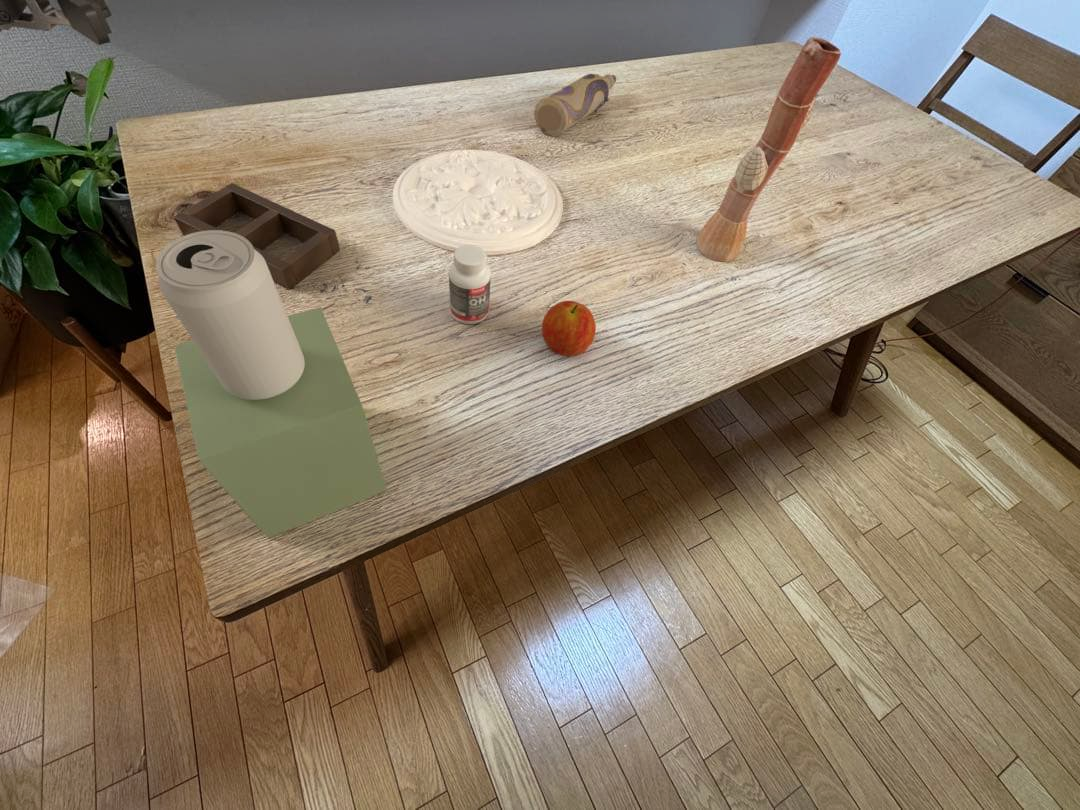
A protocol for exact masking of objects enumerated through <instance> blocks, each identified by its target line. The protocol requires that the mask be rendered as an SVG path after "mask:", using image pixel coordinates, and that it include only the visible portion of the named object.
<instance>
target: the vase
mask: <svg viewBox="0 0 1080 810" xmlns="http://www.w3.org/2000/svg"><path fill="white" fill-rule="evenodd" d="M841 55H842V52H841V50H840V49H839V47H837V46H836V45H834V44H833V43H831V42H830V41H828V40H826V39H824V38H822V37H816V36H814V37H809V38H808V40H806V41H805V43H804V45H803V46H802V48H801V50H800V52H799V54H798V56H797V58H796V59H795V61H794V63H793V64H792V66H791V68H790V70H789V72H788V73H787V76H786V77H785V78H784V80H783V83H782V85H781V86H780V89H779V90H778V93H777V96H776V98H775V100H774V103H773V105H772V109H771V111H770V114H769V117H768V120H767V124H766V126H765V127H764V130H763V133H762V134H761V136H760V138H759V140H758V141H757V143H756V145H755V146H754V147H752V148H750V149H749V150H747V151H746V153H745V154H744V155H743V156H742V157H741V159H740V161H739V162H738V164H737V167H736V169H735V175H734V176H733V177H732V179H731V181H730V183H729V184H728V188H727V190H726V193H725V194H724V197H723V199H722V202H721V203H720V206H719V207H718V209H717V210H716V211H715V212H714V213H713V215H712V216H711V217H709V219H708V220H707V221H706V223H705V224H704V226H703V227H702V228H701V230H700V232H699V233H698V235H697V237H696V240H695V242H696V248H697V250H698V251H699V252H700V253H701V255H703V256H704V257H707V258H709V259H711V260H712V261H716V262H722V263H726V262H729V261H733V260H735V259H737V257H738V256H739V254H740V252H741V250H742V247H743V245H744V243H745V239H746V235H747V227H748V218H749V215H750V213H751V211H752V209H753V208H754V205H755V203H756V201H757V199H758V198H759V196H760V195H761V193H762V191H763V190H764V188H765V187H766V185H767V184H768V182H769V181H770V179H771V177H773V175H774V174H775V172H776V171H777V170H778V168H779V167H780V165H781V163H782V162H783V161H784V160H785V158H786V157H787V156H788V154H789V153H790V151H791V149H792V148H793V146H794V144H795V142H796V140H797V137H798V135H799V134H800V133H801V132H802V131H803V130H804V129H805V127H806V125H807V124H808V123H809V122H810V119H811V116H812V114H813V113H814V109H815V105H816V104H815V103H816V98H817V95H818V93H819V91H820V90H821V88H822V87H823V86H824V84H825V83H826V81H827V80H828V78H829V76H830V75H831V73H832V72H833V70H834V68H835V67H836V66H837V64H838V62H839V60H840V58H841Z"/></svg>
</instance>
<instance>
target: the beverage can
mask: <svg viewBox="0 0 1080 810" xmlns="http://www.w3.org/2000/svg"><path fill="white" fill-rule="evenodd" d="M155 270H156V273H157V274H158V288H159V290H160V292H161V293H162V295H163V297H164V298H165V300H166V301H167V303H168V304H169V306H170V308H171V309H172V310H173V312H174V314H175V315H176V316H177V318H178V319H179V321H180V323H181V325H182V326H183V327H184V329H185V331H186V332H187V334H188V335H189V337H190V338H191V341H194V343H195V344H196V346H197V347H198V349H199V351H200V352H201V354H202V355H203V357H204V358H205V360H206V361H207V363H208V364H209V366H210V367H211V369H212V371H213V372H214V374H215V375H216V377H217V378H218V380H219V381H220V383H221V384H222V386H223V387H224V389H225V390H226V391H228V392H229V393H230V394H232V395H234V396H236V397H239V398H242V399H249V400H260V399H266V398H271V397H274V396H277V395H279V394H281V393H283V392H285V391H286V390H288V389H289V388H291V387H292V386H293V385H294V384H295V383H296V382H297V381H298V380H299V378H300V377H301V375H302V373H303V370H304V365H305V361H304V356H303V353H302V351H301V348H300V346H299V343H298V341H297V339H296V336H295V334H294V331H293V329H292V326H291V324H290V321H289V319H288V316H289V315H288V314H287V311H286V309H285V306H284V304H283V301H282V299H281V296H280V294H279V291H278V289H277V286H276V283H274V281H273V279H272V276H271V274H270V271H269V269H268V266H267V264H266V261H265V259H264V258H263V256H262V255H261V254H260V253H259V252H257V251H256V250H255V249H254V248H253V246H252V244H251V243H250V242H249V241H248V240H247V239H246V238H244V237H243V236H241V235H239V234H236V233H235V232H233V231H228V230H221V229H219V230H208V231H200V232H196V233H192V234H189V235H186V236H183V235H182V236H181V237H179V238H177V239H174V240H173V241H171V242H170V243H168V244H167V245H166V246H165V247H164V248H163V249H162V250H161V251H160V252H159V254H158V255H157V258H156V261H155Z"/></svg>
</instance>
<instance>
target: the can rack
mask: <svg viewBox="0 0 1080 810" xmlns="http://www.w3.org/2000/svg"><path fill="white" fill-rule="evenodd" d="M239 213H242V214H243V215H246V216H248V217H251V218H253V220H252V221H250V222H249V223H247V224H245V225H244V226H243V227H241V228H239V229H238V230H237V231H235V232H234V233H236V234H239V235H241V236H243V237H244V238H246V239H247V240H248V241H249V242H250V243H251V244H252V246H253V248H254V249H255V250H256V251H257V252H259V253H260V254H261V255H262V256H263V258H264V259H265V261H266V264H267V266H268V269H269V271H270V274H271V276H272V279H273V281H274V284H275V285H278V286H281V288H285V289H287V290H289V291H291V290H292V289H294V287H296V286H297V285H298V284H299V283H300V282H302V281H303V280H305V279H306V278H307V277H308V276H310V275H311V274H312V273H314V272H315V271H316V270H318V268H320V267H321V266H322V265H324V264H325V263H326V262H327V261H329V260H330V259H331V258H332V257H334V256H335V255H336V254H337V253H338V252H340V251H341V248H340V245H339V240H338V236H337V232H336V230H335V229H333V228H331V227H329V226H326V225H325V224H322V223H321V222H318V221H315V220H314V219H312V218H309V217H307V216H305V215H302V214H300V213H299V212H297V211H294V210H293V209H290V208H288V207H286V206H283V205H282V204H279V203H277V202H275V201H273V200H270V199H268V198H265V197H264V196H262V195H259V194H257V193H255V192H253V191H251V190H249V189H247V188H245V187H242V186H239V185H238V184H235V183H233V182H230V183H228V184H227V185H225V186H223V187H222V188H220V189H218V190H217V191H215V192H214V193H212V194H210V195H208V196H206V197H204V198H203V199H201V200H199V201H198V202H196V203H194V204H193V205H191V206H189V207H188V208H186V209H184V210H182V211H181V212H179V213H177V214H175V215H174V216H173V219H174V222H175V223H176V225H177V227H178V229H179V231H180V233H181V234H182V237H183V236H186V235H189V234H192V233H196V232H200V231H208V230H220V229H219V228H217V227H219V226H221V225H222V224H223V223H225V222H227V221H228V220H230V219H232V218H234V217H235V216H236V215H238V214H239ZM286 234H287V235H289V236H290V237H293V238H295V239H297V240H299V241H301V242H303V243H302V244H301V245H300V246H298V247H297V248H296V249H294V250H292V252H290V253H288V254H287V255H286V256H285V257H283V258H279V257H277V256H276V255H273V254H271V253H269V252H267V251H265V250H264V249H265V248H267V247H268V246H269V245H271V244H272V243H274V242H276V241H277V240H278V239H280V238H281V237H282V236H284V235H286Z"/></svg>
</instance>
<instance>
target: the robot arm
mask: <svg viewBox="0 0 1080 810" xmlns="http://www.w3.org/2000/svg"><path fill="white" fill-rule="evenodd" d="M54 1H55V2H57V4H58V6H59V7H60V9H57V8H55V7H54V6H52V4H51V3H50V1H49V0H0V33H1V32H2V31H8V30H11V29H12V28H18V29H19V28H20V29H26V30H35V31H42V32H44V31H45V32H49V31H51V30H52V29H53V28H55V27H57V26H64V27H65V26H66V27H71V28H72V29H73V30H74V31H76V32H77V33H79V34H81V35H82V36H84V37H86V38H87V39H88V40H90V41H92V42H93V43H95V44H96V45H98V46H101V45H105V44H109V43H111V39H110V37H109V35H110V34H112V29H111V27H110V25H109V24H108V21H107V18H110V17H111V16H112V12H111V10H110V8H109V6H108V5H107V3H106V1H105V0H54ZM27 7H28V10H29V11H30V12H24V11H25V9H26V8H27Z"/></svg>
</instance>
